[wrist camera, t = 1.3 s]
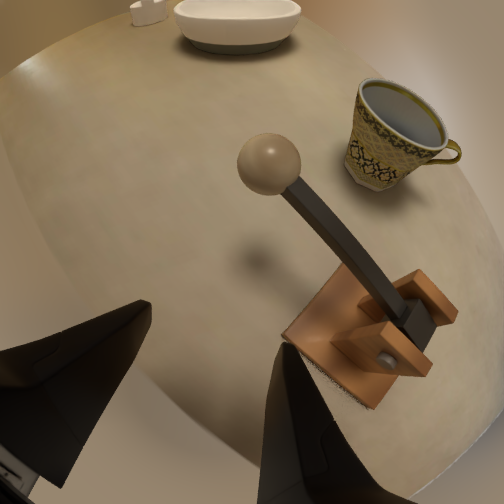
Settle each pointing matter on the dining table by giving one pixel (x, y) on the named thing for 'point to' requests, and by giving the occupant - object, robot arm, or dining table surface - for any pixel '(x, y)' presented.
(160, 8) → the cylinder with rectangular tab
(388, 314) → the lever
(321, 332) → the bracket
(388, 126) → the ceramic cup
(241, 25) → the bowl
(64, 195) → the dining table surface
